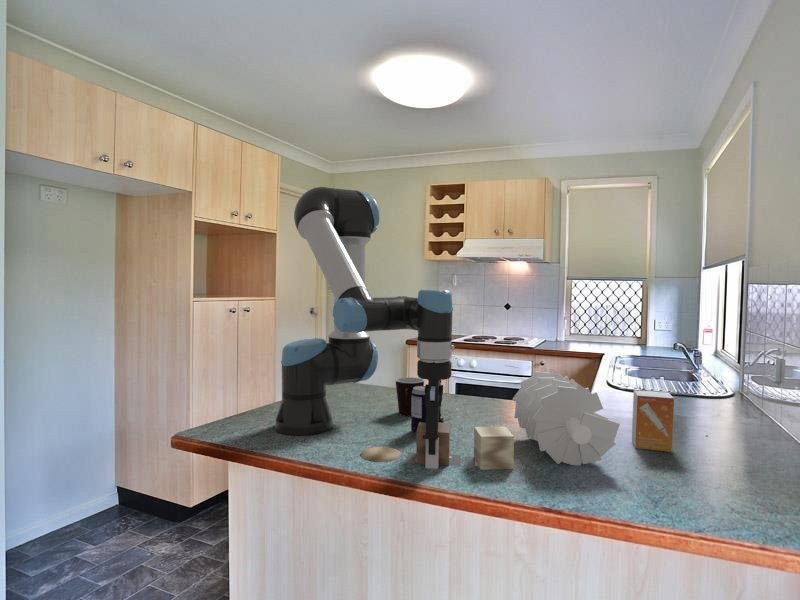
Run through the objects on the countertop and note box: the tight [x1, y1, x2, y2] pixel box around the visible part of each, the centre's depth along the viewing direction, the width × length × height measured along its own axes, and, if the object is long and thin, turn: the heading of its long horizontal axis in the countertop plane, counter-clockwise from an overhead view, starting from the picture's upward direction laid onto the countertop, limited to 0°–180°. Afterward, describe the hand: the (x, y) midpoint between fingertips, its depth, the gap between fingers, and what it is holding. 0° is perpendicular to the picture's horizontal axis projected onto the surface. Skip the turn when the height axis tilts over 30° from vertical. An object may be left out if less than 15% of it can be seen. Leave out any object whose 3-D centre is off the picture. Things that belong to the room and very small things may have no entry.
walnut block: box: [415, 422, 451, 466], centre depth 112 cm, size 7×7×7 cm
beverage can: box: [410, 385, 426, 435], centre depth 131 cm, size 6×6×12 cm
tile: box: [404, 451, 462, 467], centre depth 112 cm, size 12×6×1 cm, turn 83°
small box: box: [631, 389, 675, 453], centre depth 122 cm, size 8×6×13 cm
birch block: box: [473, 426, 515, 471], centre depth 109 cm, size 7×7×7 cm
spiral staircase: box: [512, 369, 621, 466], centre depth 118 cm, size 18×18×25 cm
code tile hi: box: [464, 456, 524, 472], centre depth 109 cm, size 12×6×1 cm, turn 83°
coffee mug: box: [395, 376, 425, 417], centre depth 149 cm, size 12×9×10 cm
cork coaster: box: [360, 446, 402, 463], centre depth 114 cm, size 9×9×1 cm
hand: (433, 459), depth 112 cm, fingers open, 10 cm apart
